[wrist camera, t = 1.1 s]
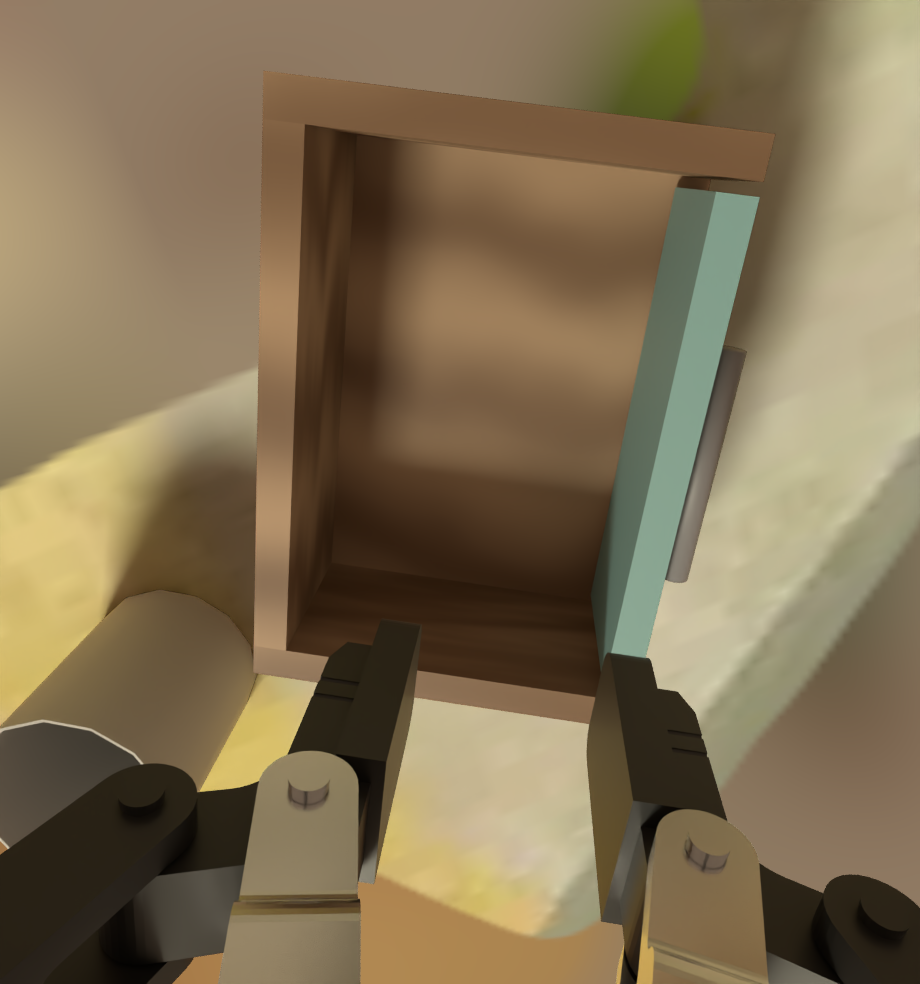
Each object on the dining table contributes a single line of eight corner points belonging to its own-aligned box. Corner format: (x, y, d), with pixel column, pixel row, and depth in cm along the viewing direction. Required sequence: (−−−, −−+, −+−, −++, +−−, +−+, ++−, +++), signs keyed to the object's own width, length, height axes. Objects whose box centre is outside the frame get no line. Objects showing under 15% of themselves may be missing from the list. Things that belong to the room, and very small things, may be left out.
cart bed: (338, 98, 30) (263, 70, 22) (707, 144, 29) (775, 134, 21) (315, 561, 38) (253, 673, 29) (606, 604, 37) (627, 729, 29)
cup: (218, 575, 38) (118, 703, 29) (280, 709, 41) (206, 865, 32) (69, 611, 40) (-70, 743, 31) (139, 738, 43) (30, 894, 33)
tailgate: (675, 187, 28) (716, 191, 22) (737, 195, 28) (796, 201, 22) (590, 594, 34) (603, 689, 28) (640, 602, 34) (664, 698, 28)
